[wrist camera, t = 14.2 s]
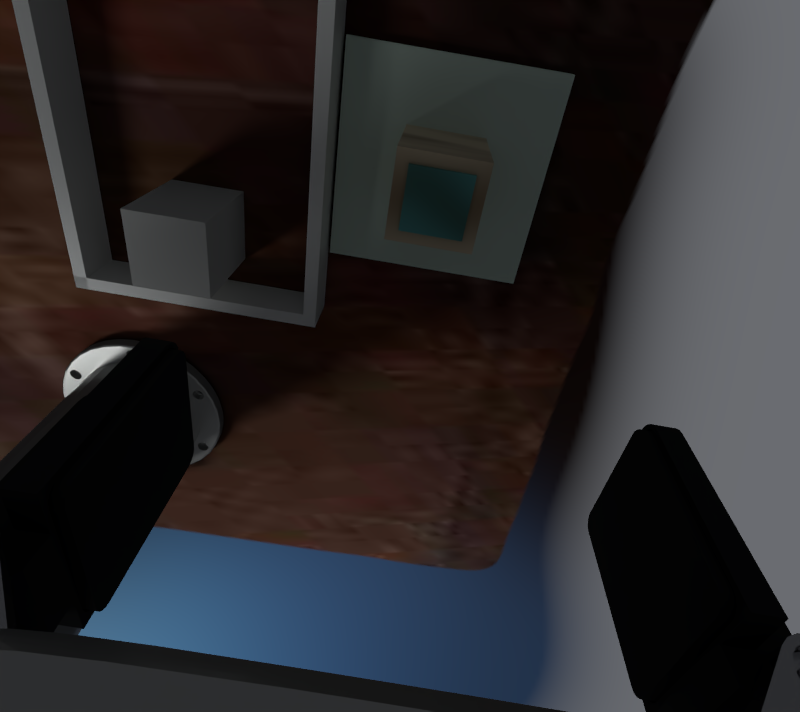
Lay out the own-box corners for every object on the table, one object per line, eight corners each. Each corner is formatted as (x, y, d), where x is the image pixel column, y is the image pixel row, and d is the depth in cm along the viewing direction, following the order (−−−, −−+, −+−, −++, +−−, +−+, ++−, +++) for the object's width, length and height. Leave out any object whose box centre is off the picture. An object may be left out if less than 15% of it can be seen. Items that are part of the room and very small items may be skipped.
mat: (512, 279, 34) (513, 283, 33) (331, 248, 33) (329, 252, 33) (572, 73, 27) (575, 75, 27) (348, 34, 27) (346, 34, 26)
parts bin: (324, 306, 36) (314, 327, 33) (102, 268, 36) (76, 287, 33) (352, -72, 24) (340, -83, 22) (27, -130, 24) (-22, -147, 22)
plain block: (245, 258, 34) (210, 298, 29) (179, 247, 34) (132, 285, 29) (243, 191, 32) (205, 222, 27) (172, 179, 32) (120, 208, 27)
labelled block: (468, 217, 31) (471, 256, 26) (394, 203, 31) (383, 240, 26) (486, 138, 29) (494, 164, 23) (406, 124, 28) (396, 146, 23)
